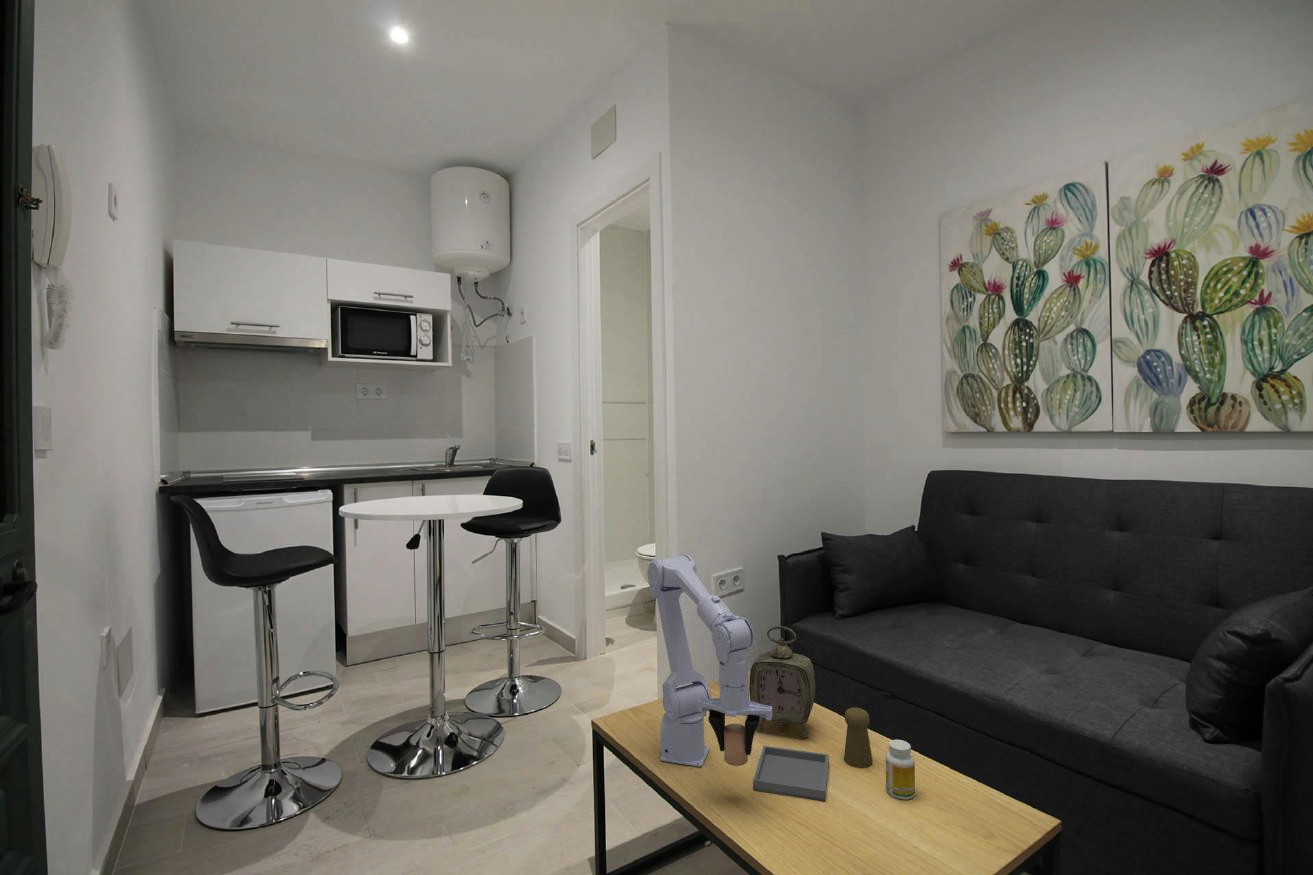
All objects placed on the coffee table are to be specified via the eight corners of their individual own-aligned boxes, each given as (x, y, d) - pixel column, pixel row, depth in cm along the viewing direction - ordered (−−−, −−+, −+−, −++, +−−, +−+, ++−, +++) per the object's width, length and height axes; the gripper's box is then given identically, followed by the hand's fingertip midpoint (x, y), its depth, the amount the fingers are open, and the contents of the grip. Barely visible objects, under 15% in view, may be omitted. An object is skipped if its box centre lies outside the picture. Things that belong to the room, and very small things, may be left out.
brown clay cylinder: (722, 763, 119) (721, 733, 119) (726, 751, 123) (726, 722, 123) (745, 767, 117) (744, 736, 117) (749, 755, 121) (748, 725, 121)
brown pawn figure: (874, 769, 129) (873, 717, 129) (845, 766, 130) (843, 715, 130) (870, 754, 135) (869, 704, 135) (842, 752, 136) (841, 703, 136)
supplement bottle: (880, 789, 122) (879, 741, 122) (899, 781, 124) (898, 734, 124) (901, 803, 117) (900, 753, 117) (921, 795, 119) (920, 746, 119)
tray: (753, 789, 123) (753, 779, 123) (763, 754, 136) (763, 745, 136) (825, 801, 118) (825, 791, 118) (828, 763, 132) (828, 754, 131)
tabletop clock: (750, 732, 146) (747, 628, 146) (758, 716, 154) (756, 617, 154) (811, 743, 140) (809, 634, 140) (817, 725, 149) (814, 623, 149)
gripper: (693, 686, 118) (694, 755, 119) (768, 694, 114) (769, 766, 114) (702, 672, 125) (703, 738, 125) (773, 679, 120) (775, 747, 121)
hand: (735, 750), depth 120 cm, fingers closed on brown clay cylinder, 5 cm apart
